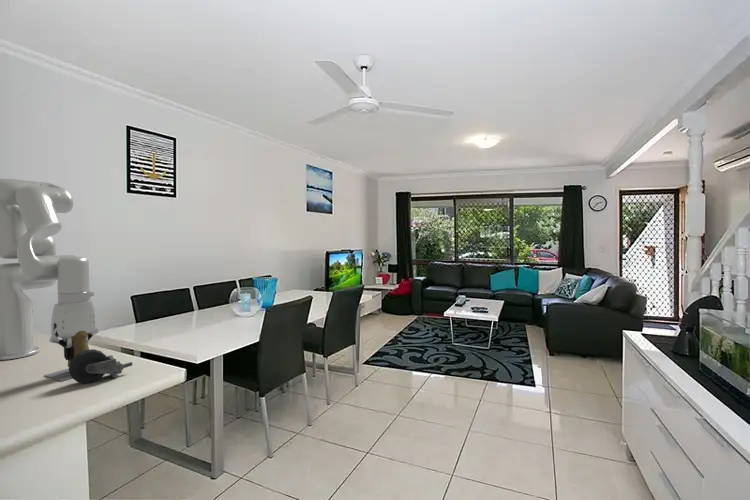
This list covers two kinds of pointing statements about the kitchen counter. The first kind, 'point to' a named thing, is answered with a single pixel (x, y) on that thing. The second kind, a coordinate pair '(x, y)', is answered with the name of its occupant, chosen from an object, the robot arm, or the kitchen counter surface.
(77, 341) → the cork
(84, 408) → the kitchen counter surface
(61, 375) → the mat
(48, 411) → the kitchen counter surface
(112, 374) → the caster wheel
